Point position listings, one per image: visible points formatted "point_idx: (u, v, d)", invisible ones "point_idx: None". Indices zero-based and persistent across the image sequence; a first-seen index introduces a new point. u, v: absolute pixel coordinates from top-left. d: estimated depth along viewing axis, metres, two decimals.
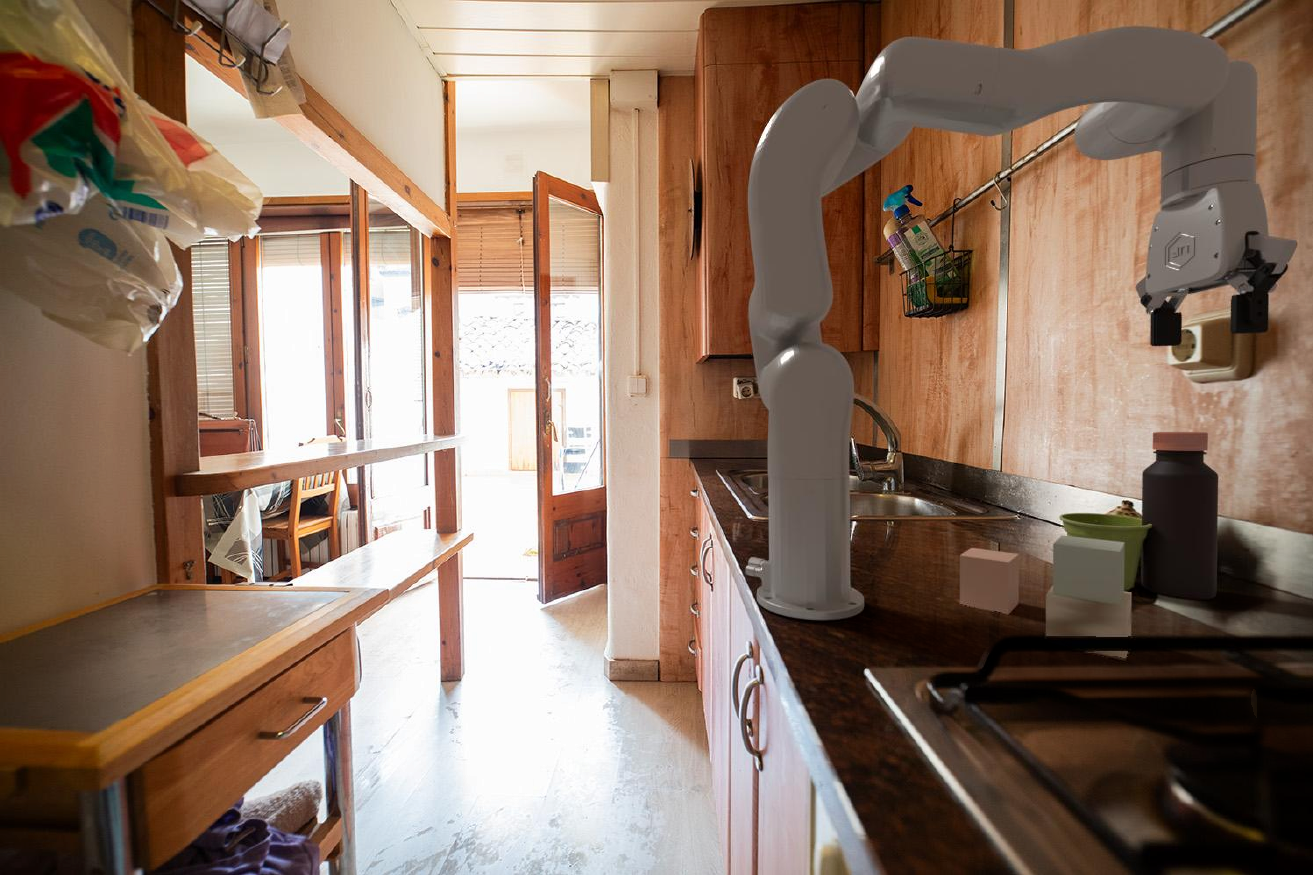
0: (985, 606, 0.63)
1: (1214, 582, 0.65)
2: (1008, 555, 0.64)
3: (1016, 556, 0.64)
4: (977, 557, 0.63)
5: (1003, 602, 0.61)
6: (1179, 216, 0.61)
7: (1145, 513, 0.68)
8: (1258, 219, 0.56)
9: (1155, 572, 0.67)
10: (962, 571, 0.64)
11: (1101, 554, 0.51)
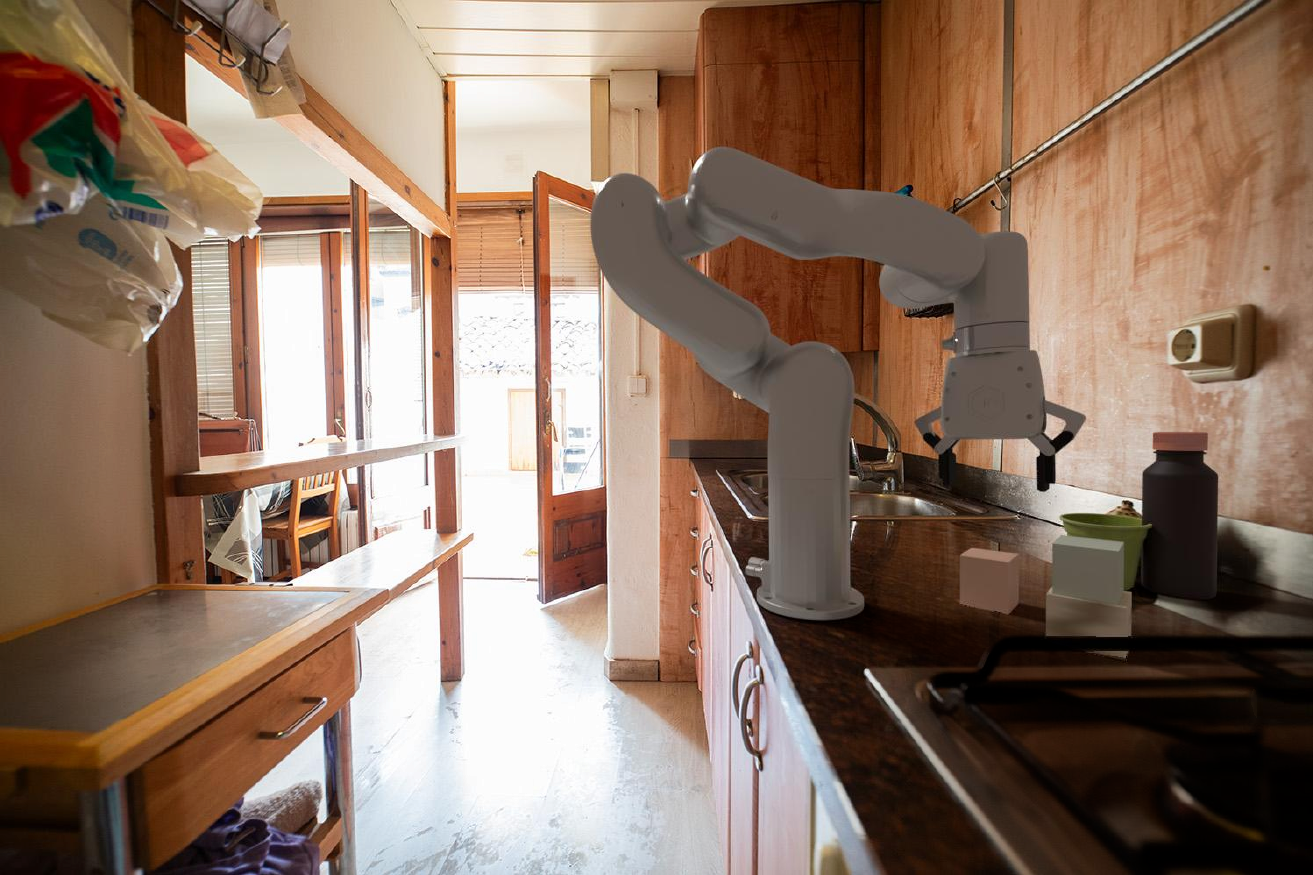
0: (985, 606, 0.63)
1: (1214, 582, 0.65)
2: (1008, 555, 0.64)
3: (1016, 556, 0.64)
4: (977, 557, 0.63)
5: (1003, 602, 0.61)
6: (985, 368, 0.62)
7: (1145, 513, 0.68)
8: (1043, 386, 0.61)
9: (1155, 572, 0.67)
10: (962, 571, 0.64)
11: (1100, 554, 0.51)
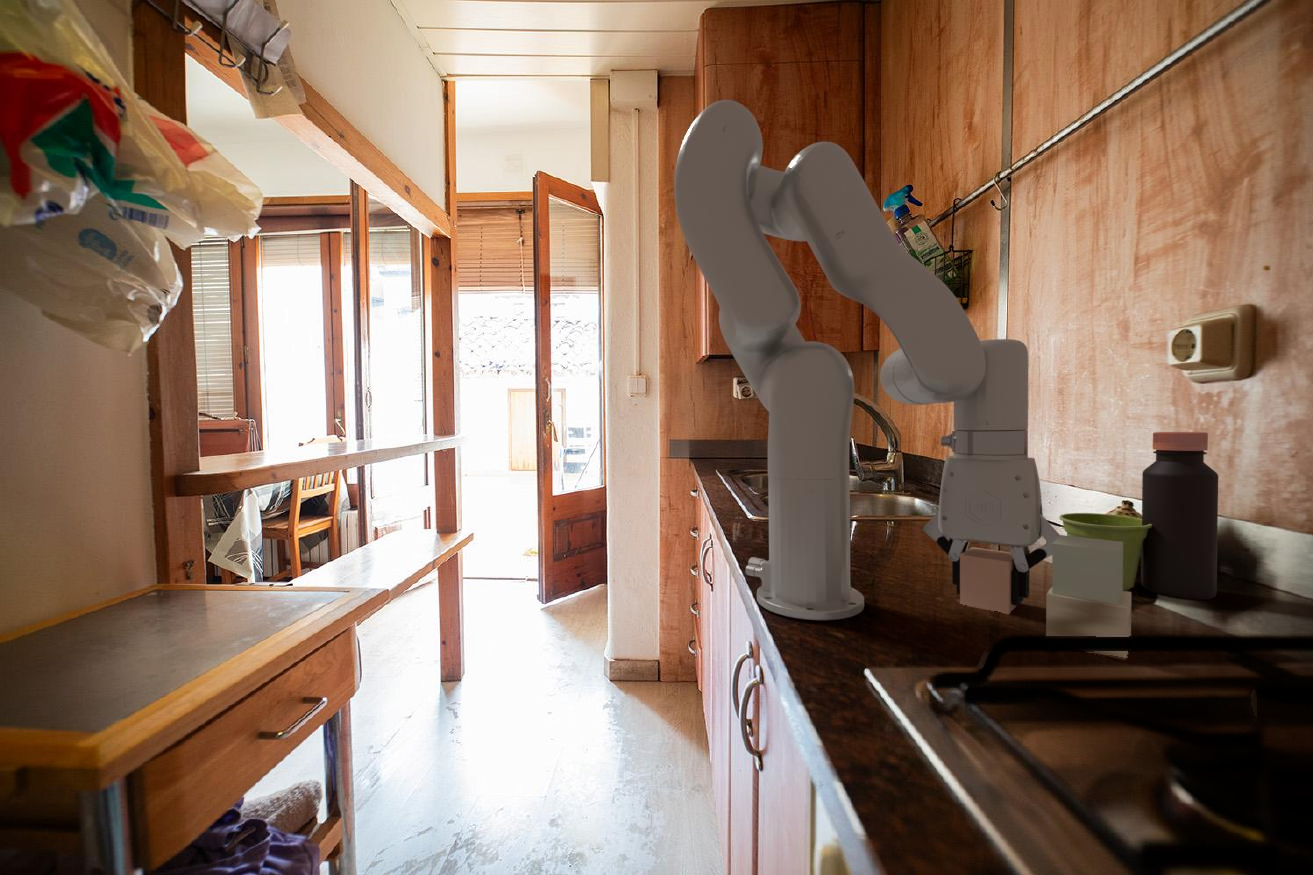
0: (985, 606, 0.63)
1: (1214, 582, 0.65)
2: (1008, 555, 0.64)
3: None
4: (977, 557, 0.63)
5: (1003, 602, 0.61)
6: (983, 473, 0.62)
7: (1145, 513, 0.68)
8: (1040, 493, 0.61)
9: (1155, 572, 0.67)
10: (962, 571, 0.64)
11: (1100, 554, 0.51)
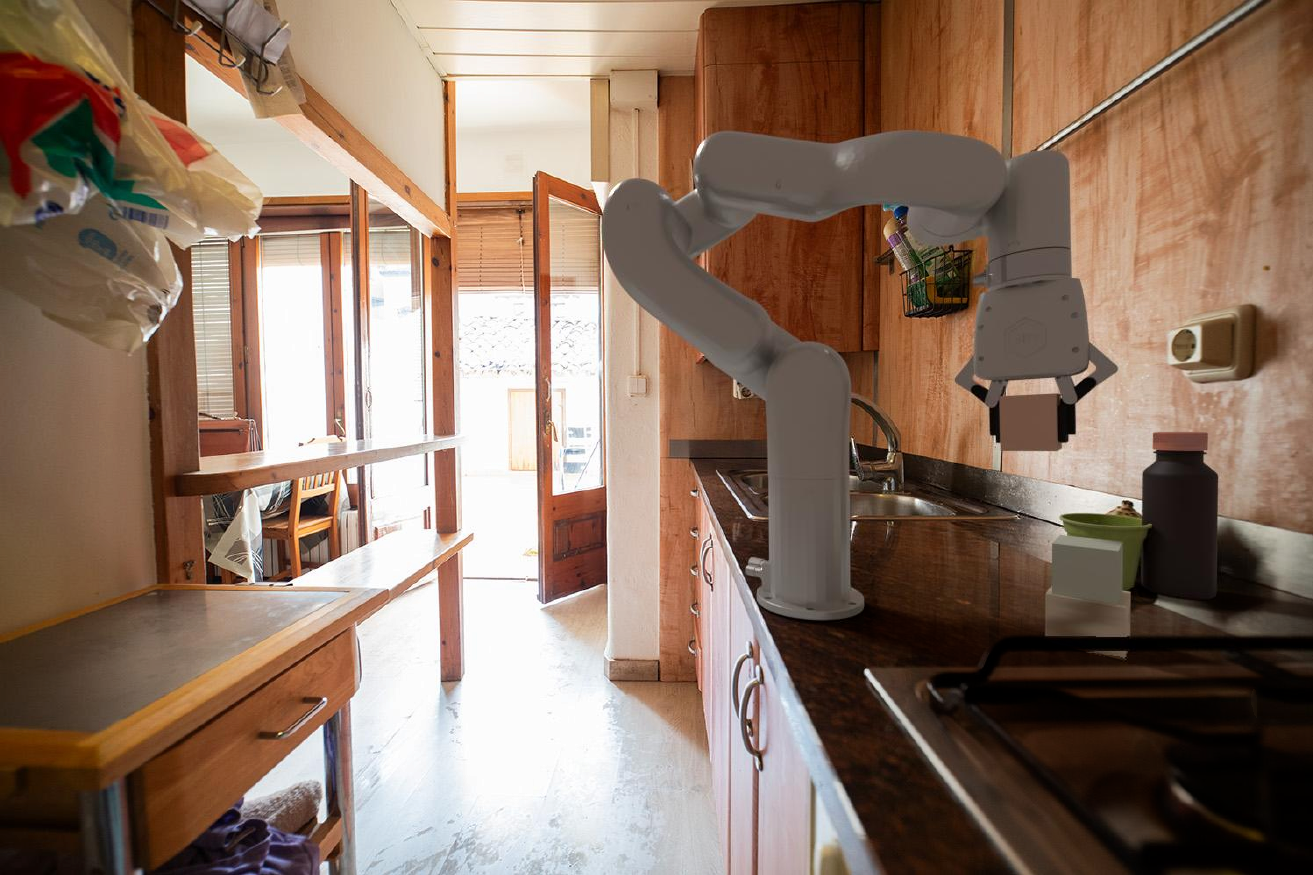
0: (1030, 447, 0.57)
1: (1214, 582, 0.65)
2: None
3: (1059, 394, 0.59)
4: (1019, 395, 0.58)
5: (1051, 438, 0.56)
6: (1024, 300, 0.57)
7: (1145, 513, 0.68)
8: None
9: (1155, 572, 0.67)
10: (1002, 413, 0.59)
11: (1099, 554, 0.51)
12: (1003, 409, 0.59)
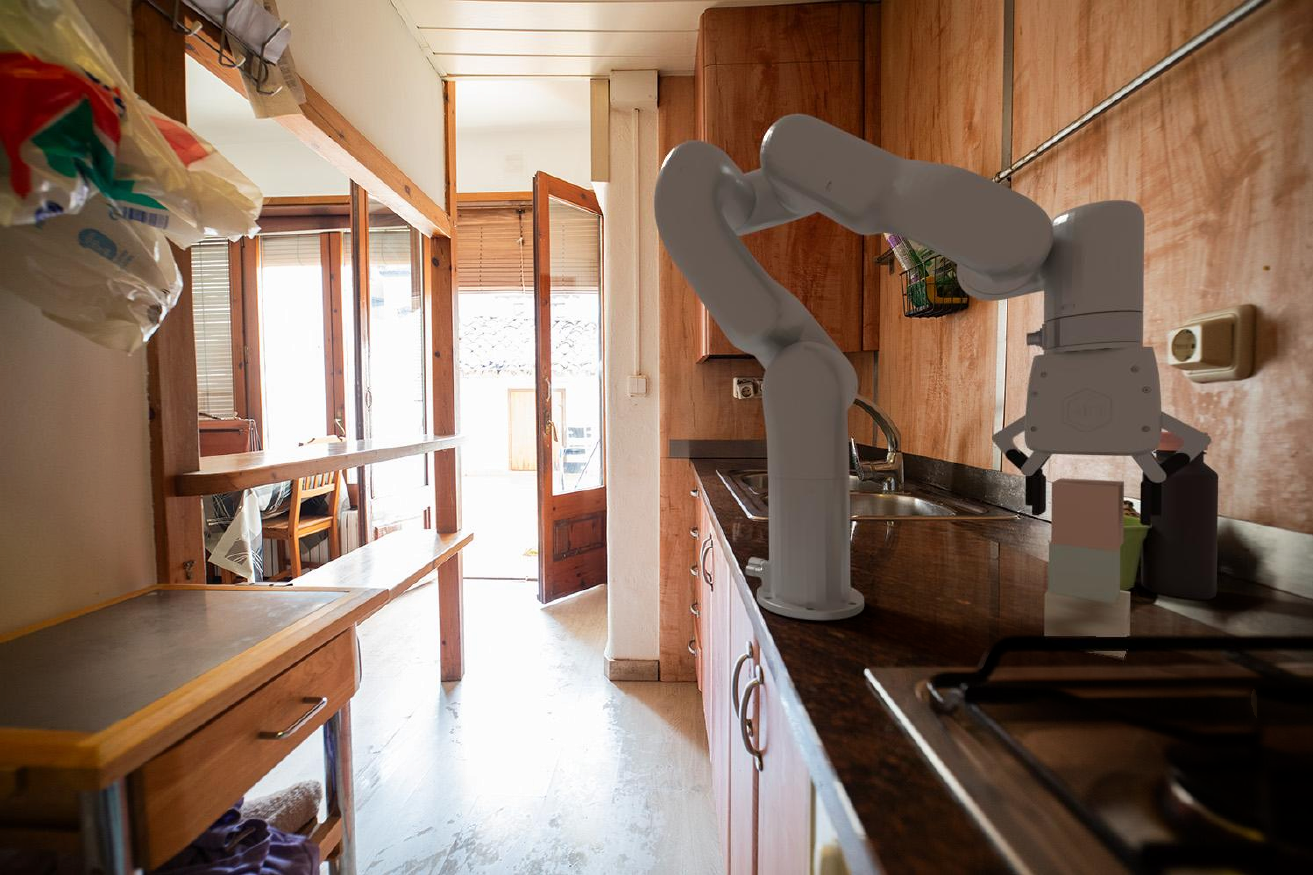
0: (1086, 543, 0.51)
1: (1214, 582, 0.65)
2: (1112, 482, 0.52)
3: (1122, 483, 0.52)
4: (1075, 483, 0.52)
5: (1111, 536, 0.50)
6: (1086, 368, 0.50)
7: None
8: None
9: (1155, 572, 0.67)
10: (1055, 502, 0.53)
11: (1096, 553, 0.51)
12: (1056, 497, 0.53)
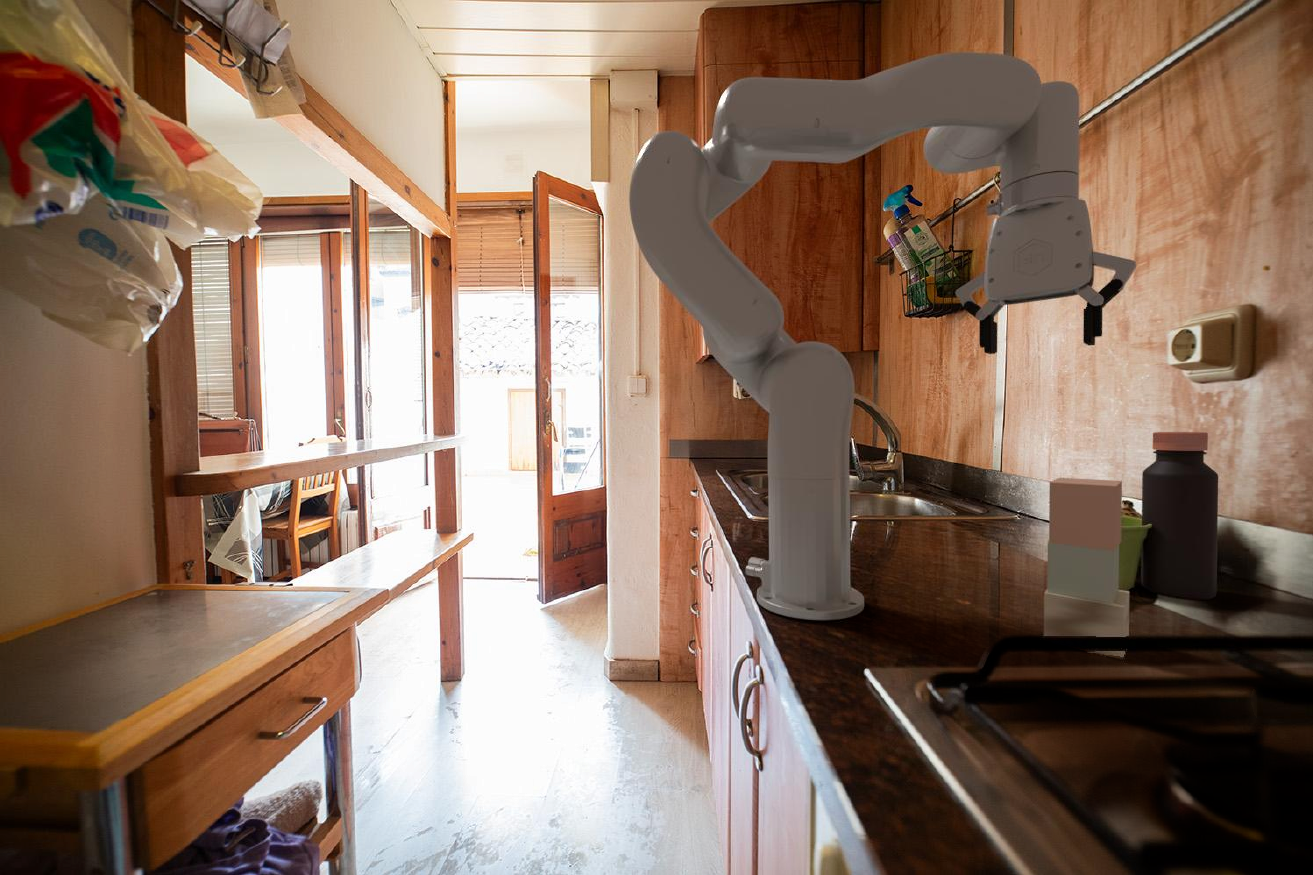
0: (1083, 542, 0.51)
1: (1214, 582, 0.65)
2: (1110, 481, 0.53)
3: (1120, 482, 0.52)
4: (1073, 483, 0.52)
5: (1108, 536, 0.50)
6: (1032, 222, 0.61)
7: (1145, 513, 0.68)
8: None
9: (1155, 572, 0.67)
10: (1053, 501, 0.53)
11: (1094, 553, 0.51)
12: (1053, 497, 0.53)
